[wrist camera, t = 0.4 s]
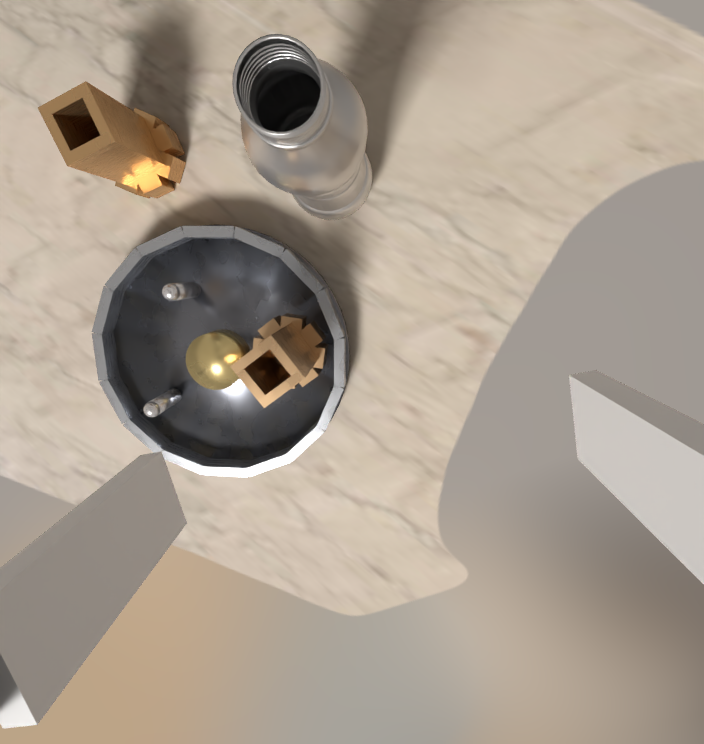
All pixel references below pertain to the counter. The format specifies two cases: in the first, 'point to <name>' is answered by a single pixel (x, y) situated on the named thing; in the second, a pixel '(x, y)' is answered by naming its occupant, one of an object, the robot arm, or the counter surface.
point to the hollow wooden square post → (114, 141)
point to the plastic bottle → (303, 126)
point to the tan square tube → (282, 357)
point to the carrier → (213, 348)
